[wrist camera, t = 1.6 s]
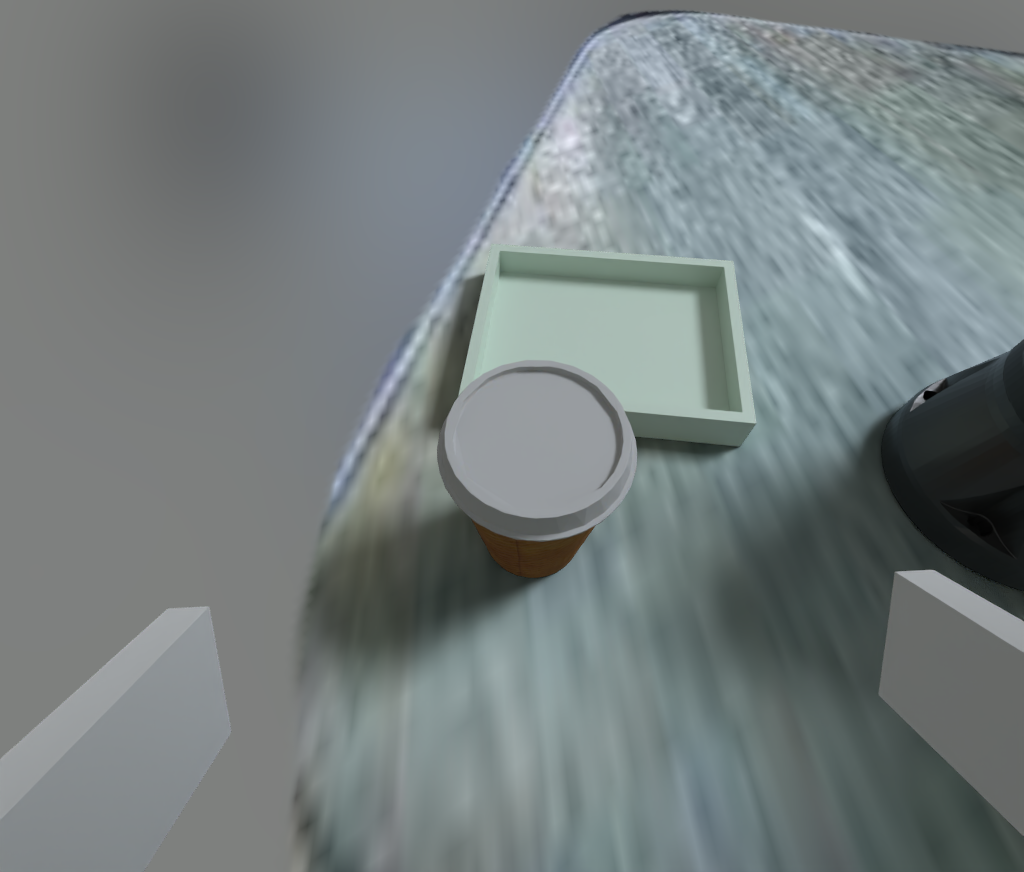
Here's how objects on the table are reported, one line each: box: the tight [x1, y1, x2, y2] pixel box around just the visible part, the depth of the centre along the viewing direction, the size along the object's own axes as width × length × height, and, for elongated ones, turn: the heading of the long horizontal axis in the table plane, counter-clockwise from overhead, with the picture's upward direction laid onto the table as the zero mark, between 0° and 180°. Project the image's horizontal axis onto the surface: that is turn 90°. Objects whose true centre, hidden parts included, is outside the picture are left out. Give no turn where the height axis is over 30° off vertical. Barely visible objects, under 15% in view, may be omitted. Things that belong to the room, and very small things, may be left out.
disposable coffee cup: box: [437, 360, 637, 578], centre depth 29 cm, size 10×10×12 cm
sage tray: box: [458, 244, 756, 447], centre depth 41 cm, size 20×16×3 cm
